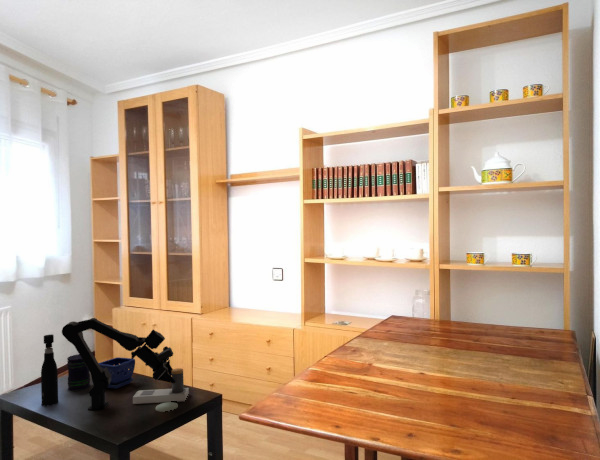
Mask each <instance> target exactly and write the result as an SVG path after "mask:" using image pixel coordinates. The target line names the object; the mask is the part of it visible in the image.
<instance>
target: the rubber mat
mask: <svg viewBox="0 0 600 460" xmlns="http://www.w3.org/2000/svg"><path fill="white" fill-rule="evenodd" d="M178 407H179V404H178V403H176V402H161V403H160V404H159V403H158V404H157V405H156V406H155V411H156V412H160V413H166V412H165V411H168V412H171V411H170V410H172V411H174V409H175V410H177V408H178Z"/></svg>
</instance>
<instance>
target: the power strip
mask: <svg viewBox="0 0 600 460" xmlns="http://www.w3.org/2000/svg"><path fill="white" fill-rule="evenodd" d="M188 394H189V395H190V389H189V387H184V394H172V388H161V389H143V390H142V389H141V390H140V389H139V390H138V391H136V392H135V394H134V395H133V396H132V404H133V405H138V404H139V405H140V404H155V403H158V404H159V403H166V402H171V401H177V402H186V401H187V399H188V397H189V395H188ZM187 396H188V397H187ZM186 398H187V399H186ZM185 400H186V401H185Z"/></svg>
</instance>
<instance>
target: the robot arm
mask: <svg viewBox="0 0 600 460" xmlns="http://www.w3.org/2000/svg"><path fill="white" fill-rule="evenodd" d="M88 330H92V331H95V332H97V333H99V334H101V335H103V336H104V337H107V338H108V339H109V338H110V339H111V340H113V341H115V342H116V343H117V344H119V346H121V347H122V348H123V349H125V350H126V351H128V352H131V353H130V355H131V357H130V359H135V357H137V358H138V359H139V360H140V361H142V362H143V363H144V365H145V366H146V367H150V369H152V378H153V380H155V381H161V382H166V383H170V384H172V383H175V382H176V381H175V380H174V379H173V378H172V370H173V369H174V368H172V366H171V360H170V358H171V357H173V356H174V351H173V349H172V348H171V347H168V346H163V349H162V351H161V352H157V351H155V352H154V351H153V350H154V349H155V350H156V349H158V347H159V346H160V345H161V344H162V343H163V342H164V341H165V340H166V338H165V336H164V335H163V334H162V333H161V332H158V331H157V330H155V329H152V330H151V331H150V333H149V334H148V335H147V336H146V337H143V336H141V337H140V336H138V335H136V334H132V333H128V332H123V331H120V330H119V329H117V328H114V327H112V326H111V325H108V324H106V323H104V322H102V321H100V320H98V319H97V318H95V317H92V318H89V319H86V320H85V319H84V320H80V321H78V322H77V321H75V320H74V321H69V322H68V323H67V324H65V325H64V326H63V327H62V329H61V335H62V336H63V337H64V338H65V339H66V341H68V343H70V344H72V345H73V346H74V348H75V349H76V351H77V353H78V354H79V355H80V356H81V358H82V360H83V361H84V363H85V364H86V366H87V368H88V369H89V374H90V378H91V381H92V383H93V384H92V387H91V388H90V389H89V391H88V395H89V397H90V406H88V408H87V410H88V411H92V410H93V411H95V410H96V411H97V410H104V409H105V408H107V406H108V405H109V402H107V400H106V399H107V397H106V390H107V389H108V388H107V387H108V386H109V384H110V382H111V375H112V374H110V373H109V371H108V368H107V367H106V368H105V369H103V368H102V367H101V366H100V365H99V363H100V362H98V359H96V357H95V356H94V354H93V352H92V350H91V349H90V347H89V345H88V344H87V342H86V340H85V337H84V334H83V333H84V332H85V331H88Z"/></svg>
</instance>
